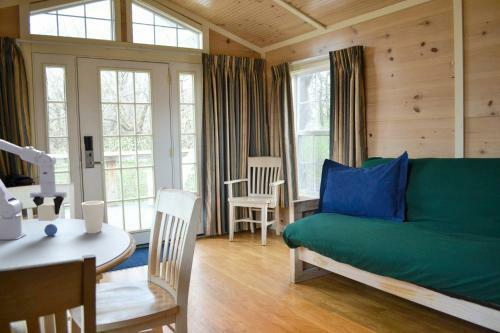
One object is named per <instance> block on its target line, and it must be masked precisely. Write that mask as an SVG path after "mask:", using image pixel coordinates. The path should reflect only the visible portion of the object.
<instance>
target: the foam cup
mask: <svg viewBox="0 0 500 333" xmlns="http://www.w3.org/2000/svg"><path fill="white" fill-rule="evenodd" d="M80 205H81V211H82V216H83V221H84V227H85V228H84V229H85V232H86V234H98V233H97V232H99V233H101V232H102V231H103V220H104V219H103V218H104V209H105V201H104V200H89V201H84V202H81V204H80ZM101 230H102V231H101ZM100 231H101V232H100Z"/></svg>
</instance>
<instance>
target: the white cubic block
mask: <svg viewBox="0 0 500 333" xmlns="http://www.w3.org/2000/svg"><path fill="white" fill-rule="evenodd" d="M37 219H38V221H39V222H47V221H49V222H51V221H52V222H53V221H55V220H57V219H60V213H59V214H57V215H55V205H54V202H50V203H48V202H47V203H46V202H44V203H43V204H41V205H39V206H38V208H37Z"/></svg>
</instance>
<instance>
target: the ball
mask: <svg viewBox="0 0 500 333" xmlns="http://www.w3.org/2000/svg"><path fill="white" fill-rule="evenodd" d="M43 229H44V230H43V231H44V234H45V235H46V236H49V237H51V236H54V235H56V234H57V232H58V227H57V226H56V225H55V224H54V223H49V224H47V225H46V226H45V227H44V228H43Z"/></svg>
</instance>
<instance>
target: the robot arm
mask: <svg viewBox="0 0 500 333" xmlns="http://www.w3.org/2000/svg"><path fill="white" fill-rule="evenodd" d="M0 150H3V151H5V152H8V153H12V154H14V155H18V156H19V157H20V159H21V160H23V161H26V162H28V163H30V164H33V165H37V166H38V167H39V179H40V181H39V182H40V183H39V184H40V192H39V191H37V192H30V193H29V198H32V201H33V203H34V204H35V206H36V209H38V206H39V205H41V204H44V203H45V202H44V201H45V198H52V200H53V203H54V205H55V215H57V214H59V215H60V210H61V206H62V203H63V201H64V200H65V198H67V196H68V195H67V192H66V191H65V192H64V191H57V189H56V188H57V187H56V170H55V165H56V162H57V157H56V156H54V155H53V154H52V153H49V152H48V153H47V152H46V151H43V150H41V151H40V150H37V149H36V148H34V146H24V147H21V146H18V145H16V144H14V143H11V142H9V141H6V140H4V139H1V138H0ZM23 204H24V203H23V202H22V201H21V200H19V199H18V198H16V196H15V195H14V194H12V193H10V192H9V190H8V188H7V187H6V186H5V184H4V182H3V181H2V179H1V178H0V240H3V241H4V240H18V239H20V238H23V237H25V236H27V233H23V227H22V214H21V212H22V210H23V209H24V208H23V207H24V205H23Z"/></svg>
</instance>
